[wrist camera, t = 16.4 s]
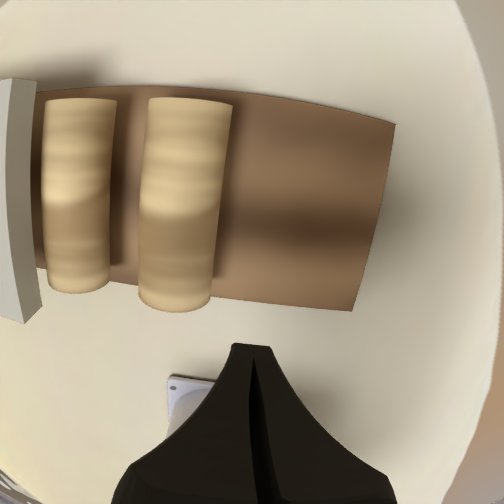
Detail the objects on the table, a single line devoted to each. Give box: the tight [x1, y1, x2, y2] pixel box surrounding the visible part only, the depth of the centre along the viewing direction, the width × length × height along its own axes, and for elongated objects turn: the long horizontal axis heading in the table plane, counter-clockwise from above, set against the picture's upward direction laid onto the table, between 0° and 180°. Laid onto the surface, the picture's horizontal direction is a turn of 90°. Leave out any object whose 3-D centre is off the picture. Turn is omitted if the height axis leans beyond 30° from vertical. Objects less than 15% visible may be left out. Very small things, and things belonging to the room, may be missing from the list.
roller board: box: [30, 86, 396, 313], centre depth 14 cm, size 12×34×8 cm, turn 82°
